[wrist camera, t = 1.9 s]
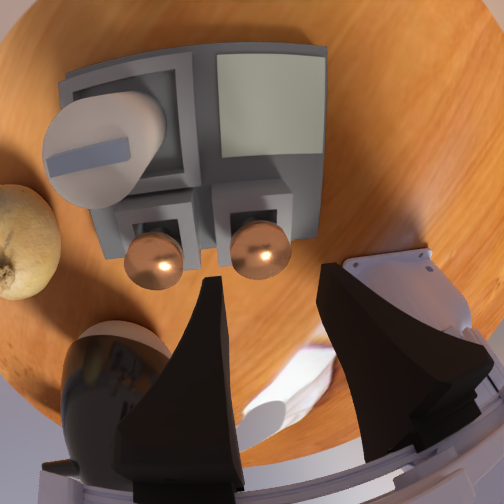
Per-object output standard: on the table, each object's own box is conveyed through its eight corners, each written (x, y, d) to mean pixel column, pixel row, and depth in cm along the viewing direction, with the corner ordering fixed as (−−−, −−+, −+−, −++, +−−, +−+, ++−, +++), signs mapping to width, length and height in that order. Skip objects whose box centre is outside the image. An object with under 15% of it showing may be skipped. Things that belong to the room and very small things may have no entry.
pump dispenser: (72, 287, 20) (17, 468, 7) (192, 316, 23) (203, 506, 10) (78, 357, 24) (55, 491, 12) (171, 378, 28) (175, 514, 15)
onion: (40, 281, 19) (8, 346, 13) (-20, 217, 15) (-68, 269, 9) (92, 228, 17) (53, 297, 11) (22, 147, 13) (-45, 188, 7)
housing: (316, 48, 13) (345, 42, 10) (310, 226, 20) (330, 257, 17) (76, 73, 12) (45, 74, 8) (110, 247, 18) (95, 281, 15)
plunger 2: (278, 200, 15) (292, 226, 13) (277, 245, 16) (289, 276, 14) (224, 204, 15) (228, 231, 12) (228, 250, 16) (232, 282, 14)
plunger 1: (181, 209, 14) (177, 237, 12) (189, 254, 16) (187, 287, 14) (130, 216, 14) (117, 244, 12) (141, 260, 16) (132, 292, 13)
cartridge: (164, 84, 12) (133, 85, 7) (171, 157, 14) (150, 206, 9) (92, 99, 12) (26, 117, 6) (103, 168, 14) (52, 222, 8)
